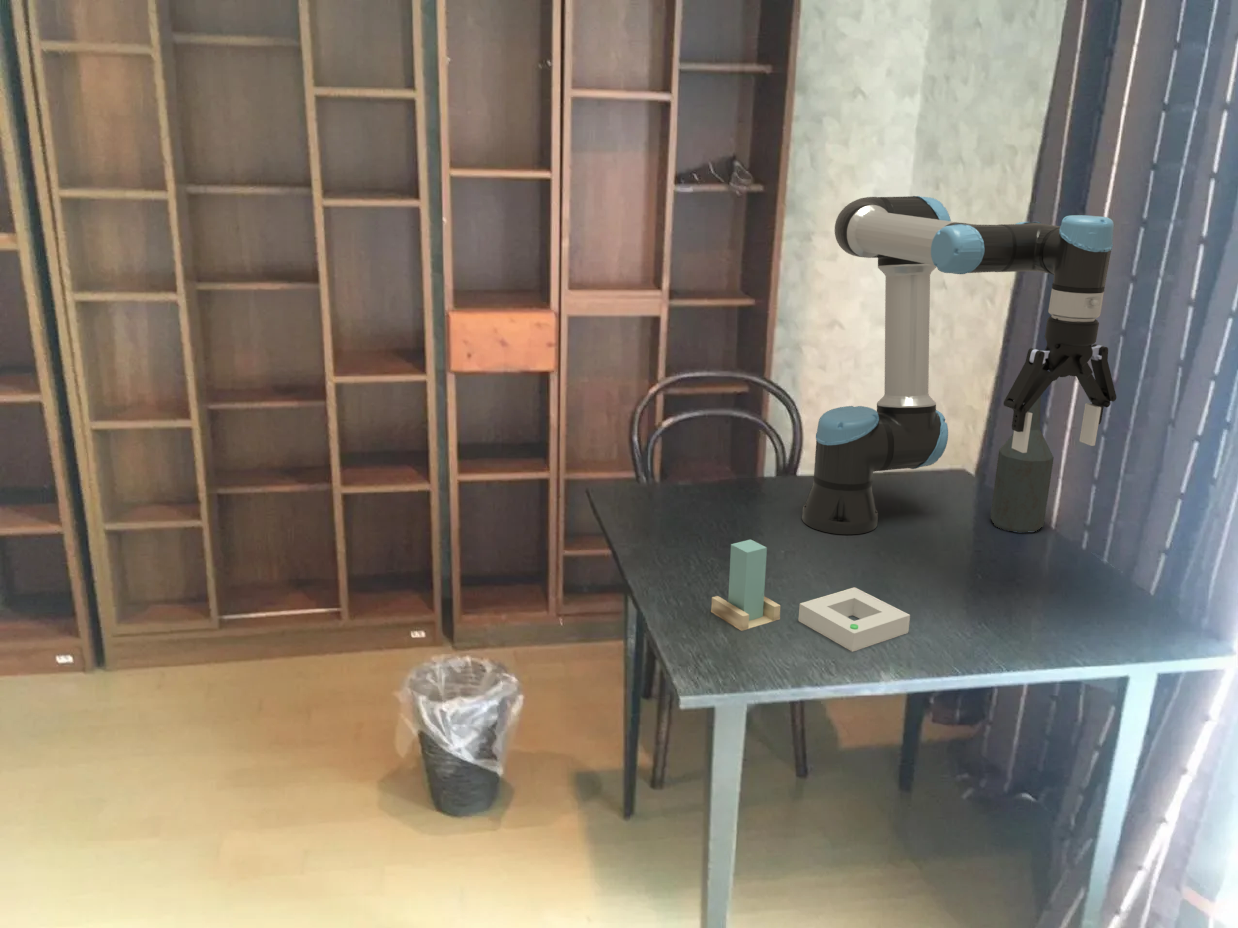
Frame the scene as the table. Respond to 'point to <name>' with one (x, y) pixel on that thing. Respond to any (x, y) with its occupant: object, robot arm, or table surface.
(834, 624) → the frame
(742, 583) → the plug
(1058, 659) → the table surface
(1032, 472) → the bottle
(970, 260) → the robot arm
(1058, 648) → the table surface
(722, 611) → the wooden cradle
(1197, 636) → the table surface
